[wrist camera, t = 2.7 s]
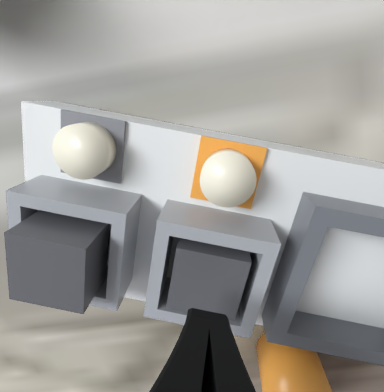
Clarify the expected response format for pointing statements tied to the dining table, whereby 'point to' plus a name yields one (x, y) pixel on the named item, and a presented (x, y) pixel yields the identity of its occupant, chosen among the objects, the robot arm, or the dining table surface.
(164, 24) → the dining table surface
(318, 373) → the cap
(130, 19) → the dining table surface
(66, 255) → the block
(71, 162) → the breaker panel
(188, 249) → the dark grey square block
